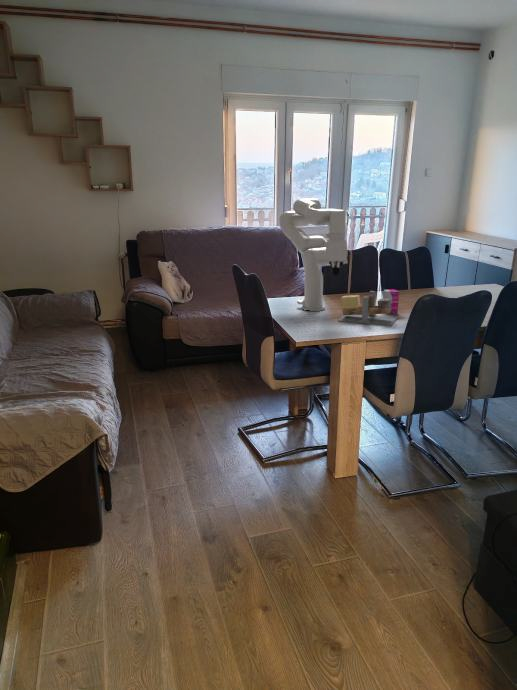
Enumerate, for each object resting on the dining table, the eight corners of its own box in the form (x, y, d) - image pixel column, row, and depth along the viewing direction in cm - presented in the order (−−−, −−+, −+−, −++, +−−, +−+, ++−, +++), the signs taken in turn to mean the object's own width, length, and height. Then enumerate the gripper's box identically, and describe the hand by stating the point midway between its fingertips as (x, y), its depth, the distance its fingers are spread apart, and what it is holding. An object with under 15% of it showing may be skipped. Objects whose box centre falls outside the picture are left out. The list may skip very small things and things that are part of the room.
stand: (337, 321, 245) (338, 295, 241) (347, 313, 260) (348, 289, 256) (390, 326, 235) (392, 299, 231) (397, 317, 250) (399, 292, 246)
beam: (342, 315, 248) (341, 299, 246) (346, 312, 254) (345, 297, 252) (388, 313, 239) (387, 297, 237) (391, 310, 244) (390, 294, 242)
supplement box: (387, 314, 256) (388, 291, 253) (381, 311, 262) (383, 289, 259) (398, 313, 258) (399, 291, 254) (392, 311, 263) (393, 289, 260)
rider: (342, 311, 249) (341, 297, 247) (344, 309, 253) (343, 295, 251) (358, 311, 246) (357, 296, 244) (360, 309, 249) (359, 295, 247)
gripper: (319, 237, 242) (318, 276, 247) (350, 237, 236) (349, 277, 241) (324, 235, 248) (323, 273, 254) (354, 236, 242) (353, 275, 248)
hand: (336, 275), depth 247 cm, fingers closed
